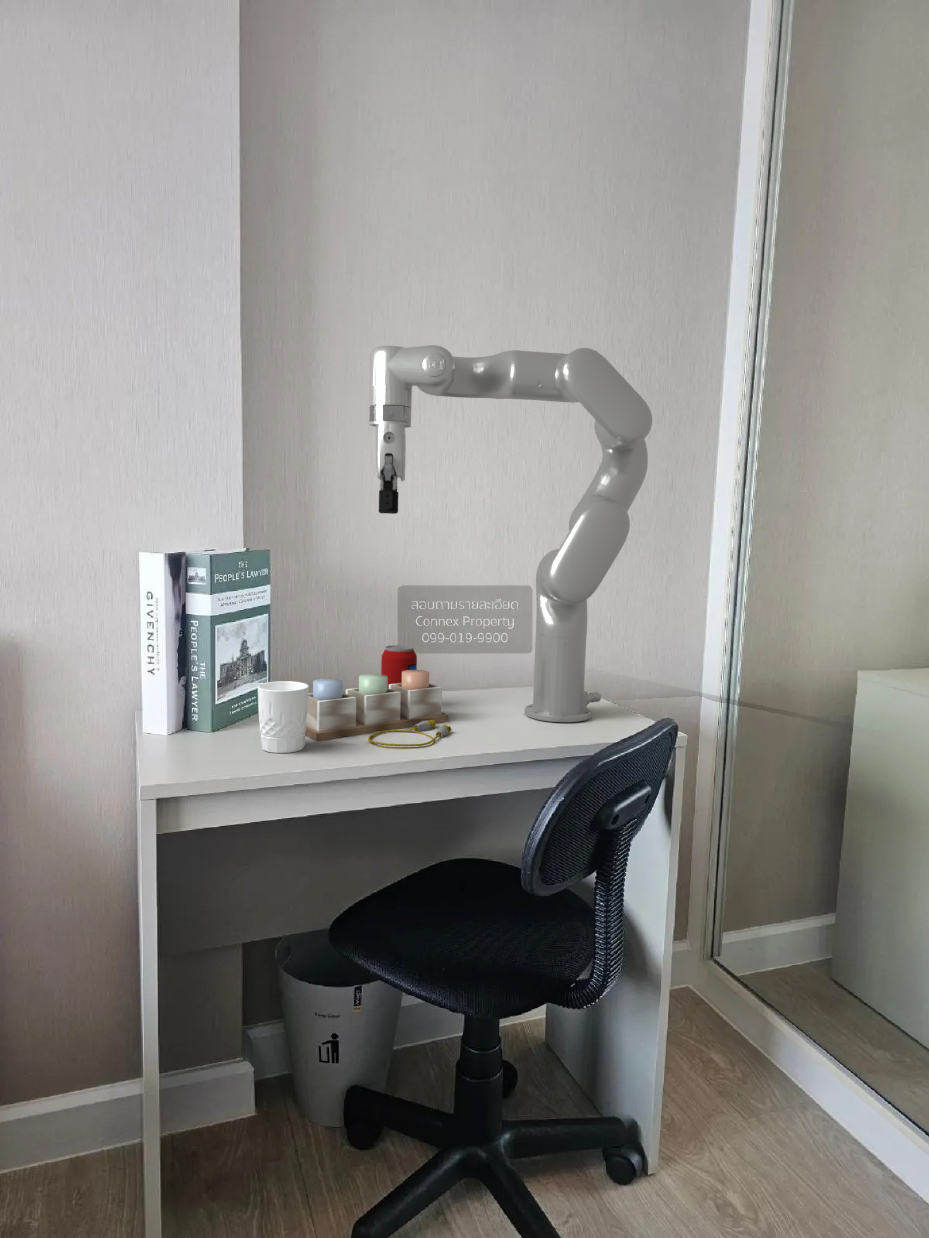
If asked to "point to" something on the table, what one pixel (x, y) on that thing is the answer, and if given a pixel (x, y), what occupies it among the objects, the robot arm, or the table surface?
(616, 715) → the table surface
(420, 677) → the pink rounded cylinder
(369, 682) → the sage green cap
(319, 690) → the slate blue cap
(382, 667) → the beverage can
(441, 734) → the extension cord
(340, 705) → the button board
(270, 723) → the white cup
